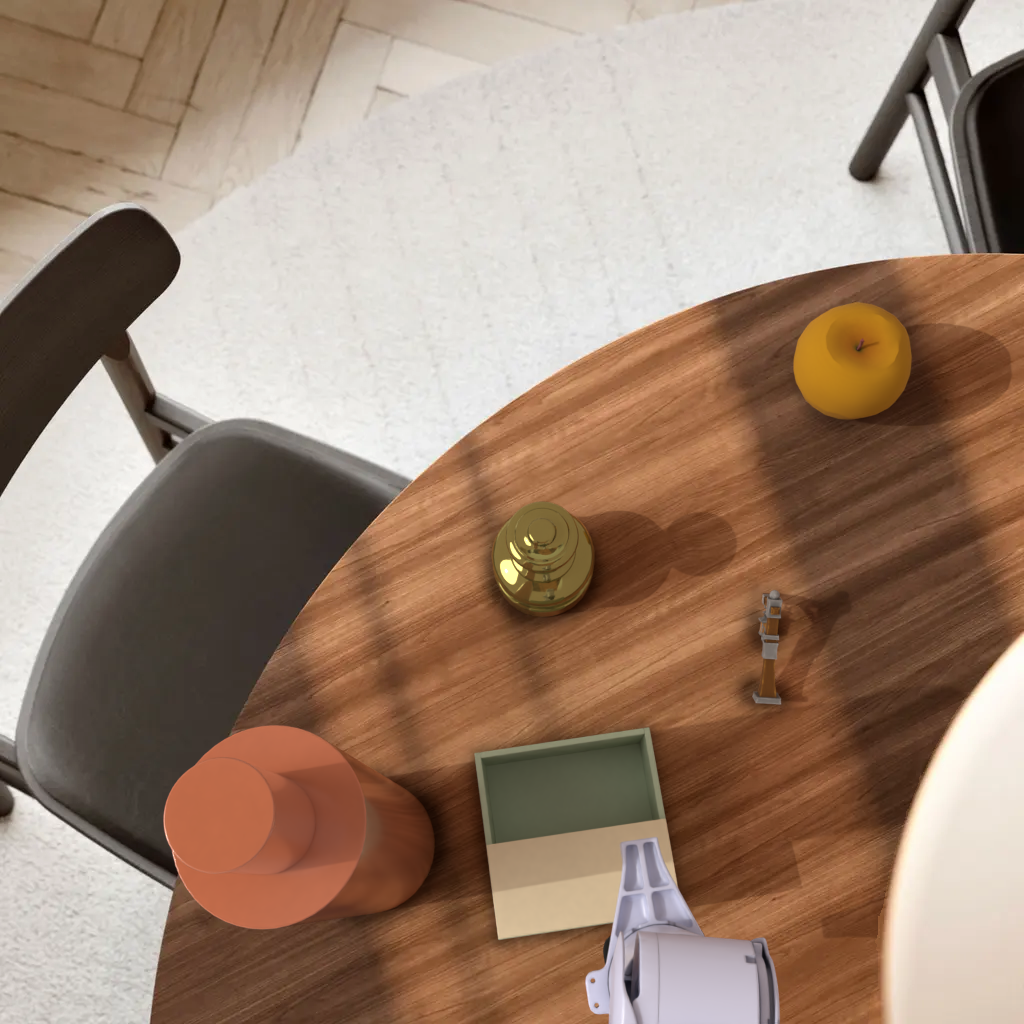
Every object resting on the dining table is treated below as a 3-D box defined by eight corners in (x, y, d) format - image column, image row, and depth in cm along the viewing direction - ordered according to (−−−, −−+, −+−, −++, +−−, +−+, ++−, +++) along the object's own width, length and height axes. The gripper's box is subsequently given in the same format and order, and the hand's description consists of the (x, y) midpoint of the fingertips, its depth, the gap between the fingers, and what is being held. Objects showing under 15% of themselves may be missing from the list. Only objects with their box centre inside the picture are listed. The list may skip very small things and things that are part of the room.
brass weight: (608, 545, 87) (614, 504, 78) (568, 634, 85) (569, 602, 76) (519, 507, 88) (514, 462, 79) (478, 594, 87) (468, 558, 77)
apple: (825, 318, 92) (852, 262, 84) (915, 381, 90) (951, 329, 82) (760, 394, 91) (780, 344, 82) (850, 460, 89) (880, 415, 80)
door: (681, 911, 73) (682, 911, 73) (498, 938, 73) (498, 939, 73) (665, 818, 75) (665, 818, 75) (486, 845, 75) (486, 844, 75)
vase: (403, 934, 79) (272, 976, 43) (285, 882, 81) (63, 881, 45) (454, 808, 82) (370, 748, 46) (339, 760, 83) (169, 665, 47)
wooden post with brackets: (779, 581, 85) (790, 592, 80) (771, 688, 86) (782, 705, 81) (754, 580, 85) (763, 591, 81) (747, 687, 86) (756, 703, 81)
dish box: (673, 910, 79) (682, 912, 74) (502, 936, 79) (498, 940, 74) (643, 737, 83) (649, 727, 77) (480, 761, 83) (474, 753, 77)
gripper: (565, 847, 58) (565, 854, 71) (614, 1170, 54) (603, 1114, 67) (704, 827, 58) (678, 837, 71) (764, 1147, 54) (725, 1096, 67)
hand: (650, 970), depth 69 cm, fingers closed
